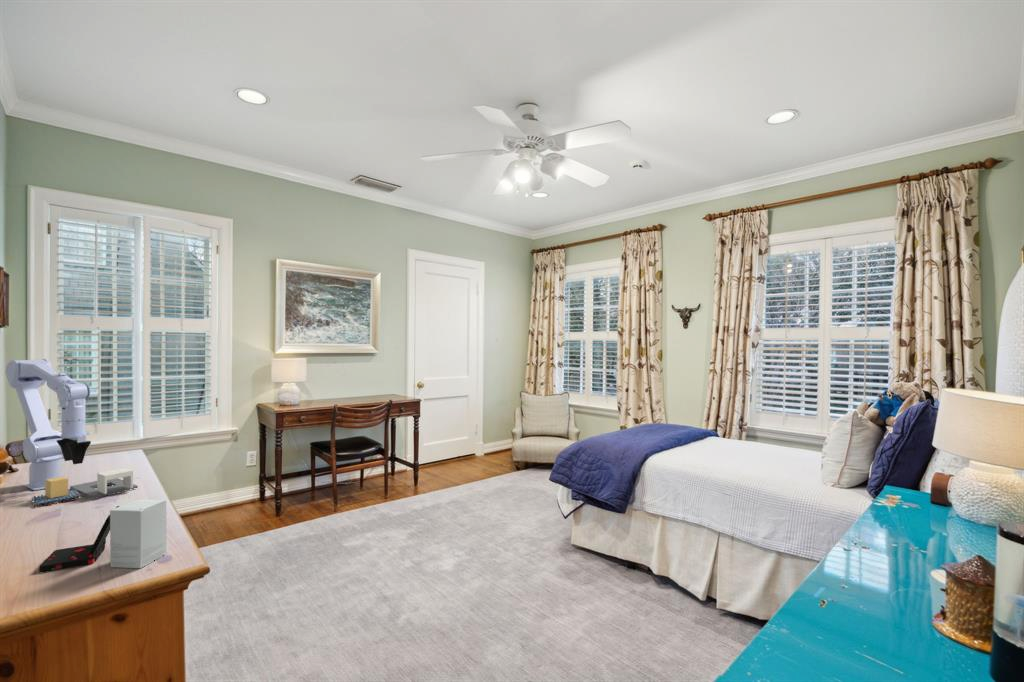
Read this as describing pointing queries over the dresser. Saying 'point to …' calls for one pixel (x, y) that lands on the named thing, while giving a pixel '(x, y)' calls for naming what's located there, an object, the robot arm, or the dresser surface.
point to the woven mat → (55, 499)
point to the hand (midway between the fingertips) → (73, 462)
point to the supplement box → (137, 533)
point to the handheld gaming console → (77, 553)
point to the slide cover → (114, 474)
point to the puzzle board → (91, 493)
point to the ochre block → (56, 487)
